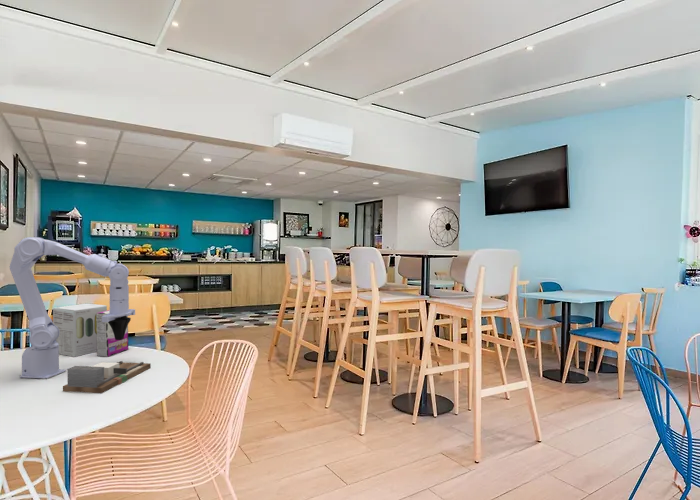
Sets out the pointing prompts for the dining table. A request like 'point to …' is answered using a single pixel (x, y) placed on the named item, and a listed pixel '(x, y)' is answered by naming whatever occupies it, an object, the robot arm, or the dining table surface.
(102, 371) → the dark grey block
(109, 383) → the base
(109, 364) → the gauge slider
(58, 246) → the robot arm
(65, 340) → the supplement box
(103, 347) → the candy bar box
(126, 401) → the dining table surface
